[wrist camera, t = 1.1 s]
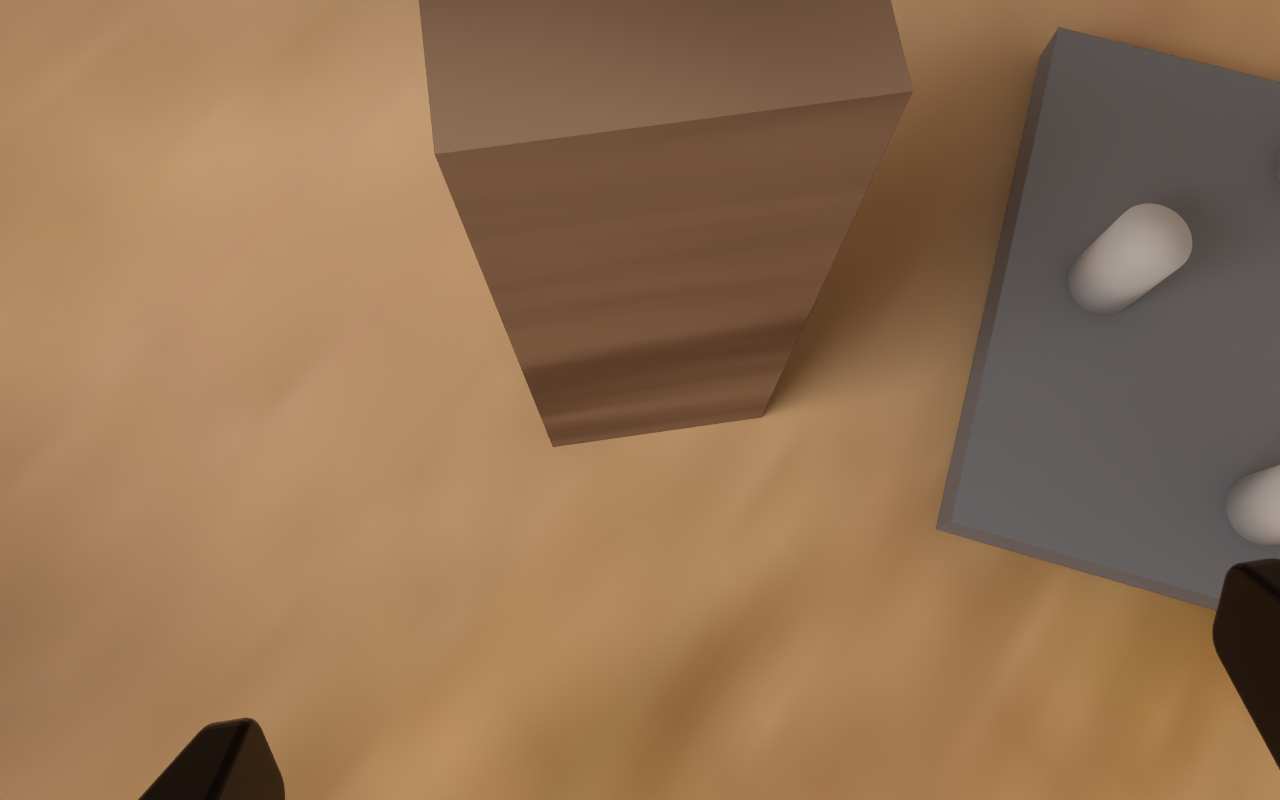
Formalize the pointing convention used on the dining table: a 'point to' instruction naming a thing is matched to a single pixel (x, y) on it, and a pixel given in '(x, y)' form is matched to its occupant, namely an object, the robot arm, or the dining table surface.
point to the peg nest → (1132, 328)
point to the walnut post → (658, 187)
